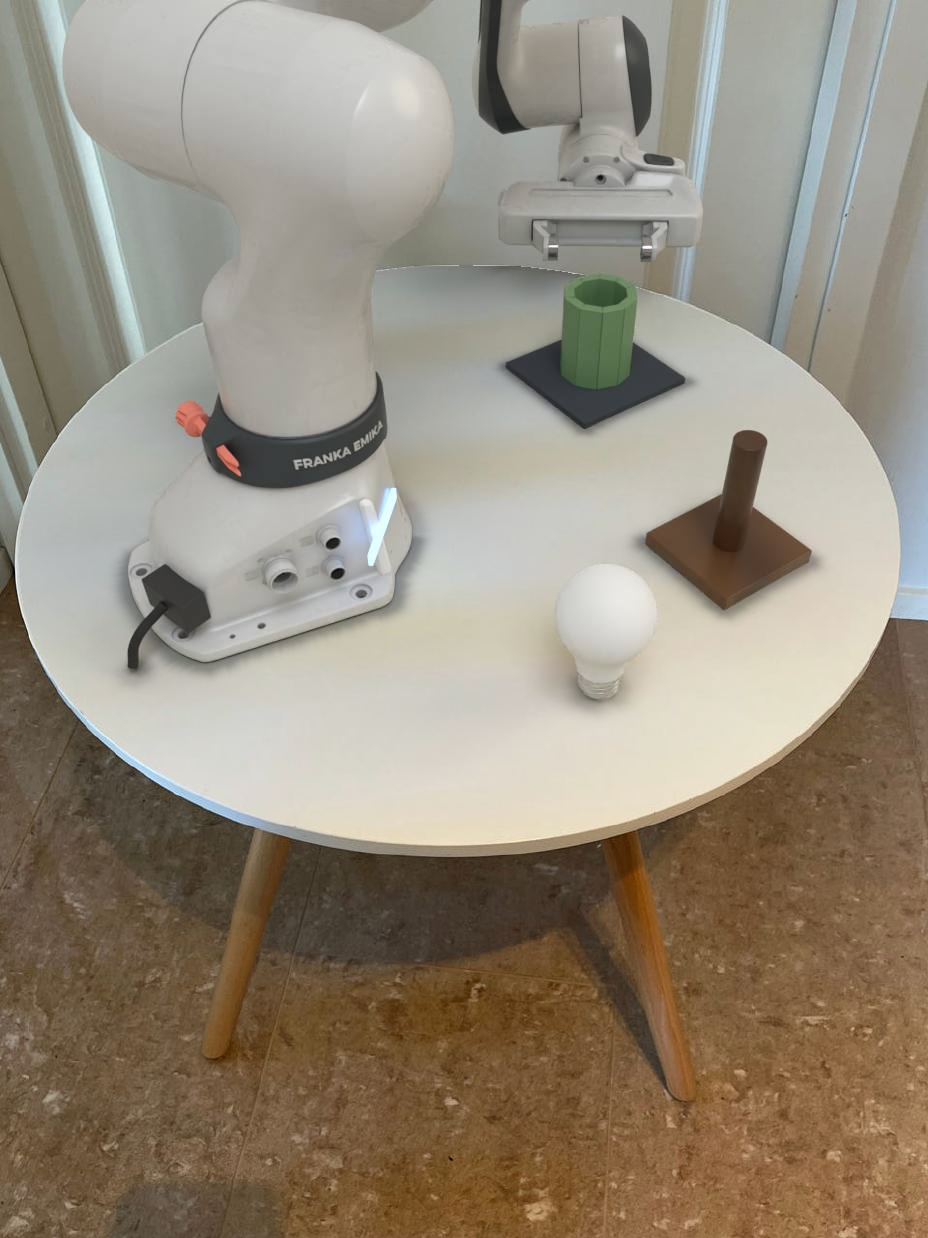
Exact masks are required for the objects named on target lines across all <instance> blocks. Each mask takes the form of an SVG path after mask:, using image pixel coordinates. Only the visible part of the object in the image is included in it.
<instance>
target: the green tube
mask: <svg viewBox="0 0 928 1238" xmlns="http://www.w3.org/2000/svg"><path fill="white" fill-rule="evenodd" d="M637 308H638V291H637V287H636V286H635V285H634V284H633V283H631V282H629V280H626V279H625V278H624V277H622V276H620V275H619V276H618V275H611V274H606V273H593V274H592V273H591V274H587V275H580V276H577V277H575V278H574V279H573V280H571V281H570V282H569V283H566V285H564V287H563V302H562V322H561V339H560V340H561V360H560V366H561V375H562V377H564V378H565V379H566V380H568V381H569V382H570V383H572V384H573V385H575V386H578V387H583V388H589V389H594V390H596V389H603V388H608V387H613V386H617V385H619V384H620V383H621V382H622V381H624V380H625V379H626V378H627V377H628V376H629V374H630V365H631V355H632V346H633V343H634V335H635V325H636V316H637Z"/></svg>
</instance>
